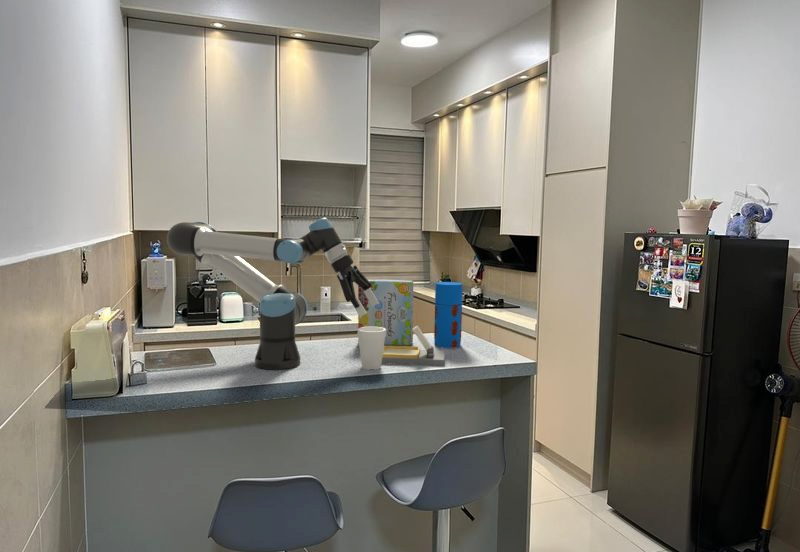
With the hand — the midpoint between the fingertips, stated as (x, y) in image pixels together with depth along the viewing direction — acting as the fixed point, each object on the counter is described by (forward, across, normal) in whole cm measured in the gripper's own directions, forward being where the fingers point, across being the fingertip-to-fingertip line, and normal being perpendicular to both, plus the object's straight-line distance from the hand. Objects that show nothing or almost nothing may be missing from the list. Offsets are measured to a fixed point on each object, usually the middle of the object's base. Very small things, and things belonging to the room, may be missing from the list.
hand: (369, 309), depth 193 cm
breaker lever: (+24, +2, -11) cm, 27 cm away
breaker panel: (+22, 0, -3) cm, 22 cm away
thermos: (+30, +27, -9) cm, 41 cm away
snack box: (+17, +22, +12) cm, 30 cm away
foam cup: (+16, -14, +4) cm, 22 cm away
